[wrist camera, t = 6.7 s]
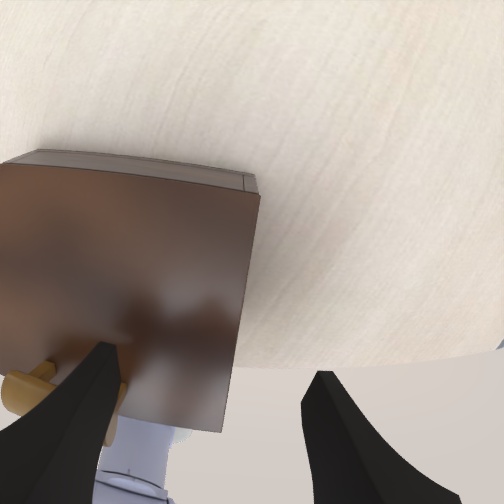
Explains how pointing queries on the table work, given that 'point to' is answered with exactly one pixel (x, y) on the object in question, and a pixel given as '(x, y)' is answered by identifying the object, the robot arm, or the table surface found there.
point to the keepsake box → (140, 168)
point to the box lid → (123, 288)
